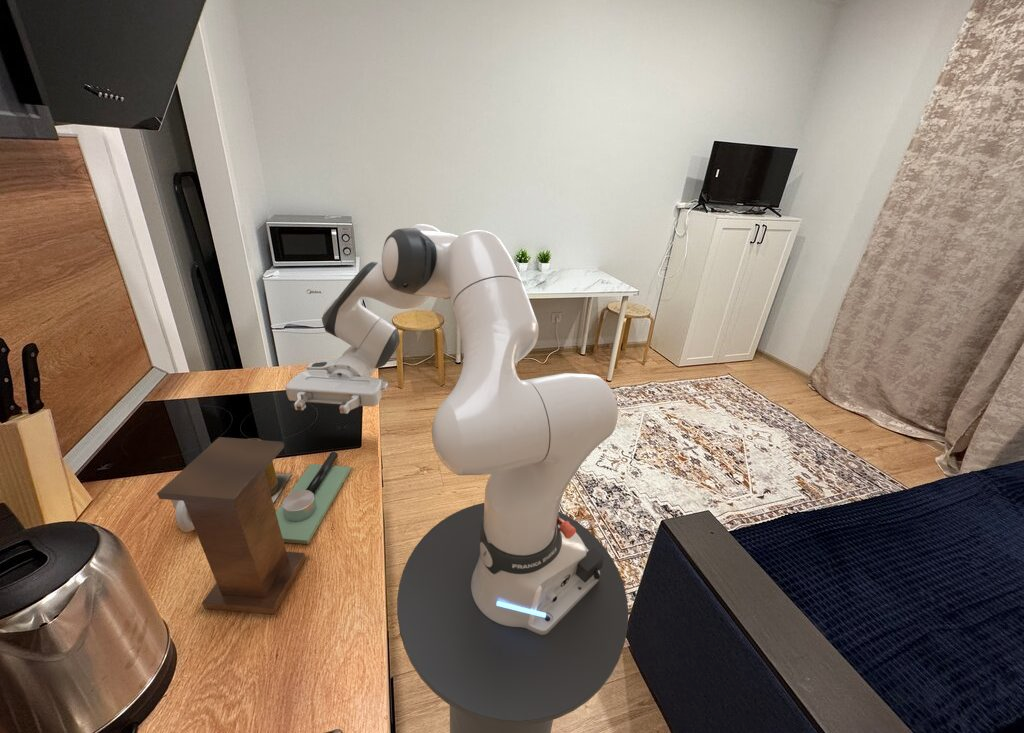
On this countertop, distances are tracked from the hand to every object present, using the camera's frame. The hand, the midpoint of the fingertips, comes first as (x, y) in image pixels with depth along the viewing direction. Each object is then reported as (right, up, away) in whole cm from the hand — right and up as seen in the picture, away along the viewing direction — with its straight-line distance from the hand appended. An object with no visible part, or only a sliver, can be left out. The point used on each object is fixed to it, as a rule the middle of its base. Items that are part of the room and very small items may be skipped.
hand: (320, 409), depth 86 cm
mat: (-1, -19, -2) cm, 19 cm away
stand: (-2, -26, -17) cm, 31 cm away
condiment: (-12, -17, +1) cm, 21 cm away
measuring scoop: (-1, -16, +1) cm, 16 cm away
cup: (-19, -21, -8) cm, 29 cm away
